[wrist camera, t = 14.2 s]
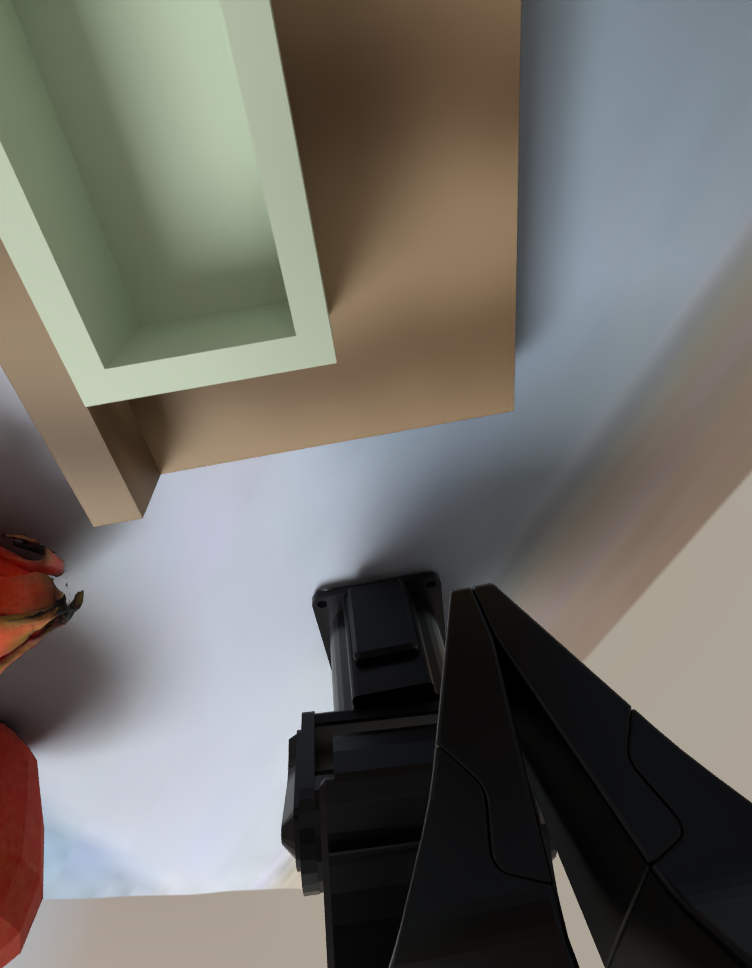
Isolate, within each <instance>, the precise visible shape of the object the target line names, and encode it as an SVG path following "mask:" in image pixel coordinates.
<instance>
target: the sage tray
mask: <svg viewBox="0 0 752 968" xmlns="http://www.w3.org/2000/svg"><path fill="white" fill-rule="evenodd" d="M0 238H1V240H2V242H3V244H4V246H5V248H6V250H7V252H8V254H9V256H10V258H11V260H12V262H13V264H14V266H15V268H16V270H17V272H18V274H19V276H20V278H21V280H22V282H23V284H24V286H25V288H26V290H27V292H28V294H29V296H30V298H31V300H32V302H33V304H34V306H35V308H36V310H37V312H38V314H39V316H40V318H41V320H42V322H43V324H44V326H45V328H46V330H47V332H48V334H49V336H50V338H51V340H52V342H53V344H54V346H55V348H56V350H57V352H58V354H59V356H60V358H61V360H62V362H63V364H64V366H65V368H66V369H67V371H68V373H69V375H70V377H71V379H72V381H73V383H74V385H75V387H76V389H77V391H78V393H79V395H80V397H81V399H82V401H83V403H84V405H85V407H89V406H94V405H100V404H106V403H111V402H117V401H123V400H129V399H134V398H140V397H146V396H151V395H157V394H163V393H169V392H174V391H180V390H186V389H191V388H197V387H203V386H208V385H214V384H220V383H226V382H231V381H237V380H243V379H248V378H254V377H260V376H266V375H271V374H277V373H283V372H288V371H294V370H300V369H305V368H311V367H317V366H323V365H328V364H334V363H337V361H336V355H335V348H334V342H333V336H332V330H331V323H330V317H329V311H328V306H327V301H326V295H325V290H324V284H323V279H322V274H321V268H320V263H319V257H318V252H317V247H316V241H315V236H314V230H313V225H312V220H311V214H310V209H309V203H308V198H307V193H306V187H305V182H304V176H303V171H302V166H301V160H300V155H299V149H298V144H297V139H296V133H295V128H294V123H293V117H292V112H291V106H290V101H289V96H288V90H287V85H286V79H285V74H284V69H283V63H282V58H281V52H280V47H279V42H278V36H277V31H276V25H275V20H274V15H273V9H272V4H271V0H0Z"/></svg>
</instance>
